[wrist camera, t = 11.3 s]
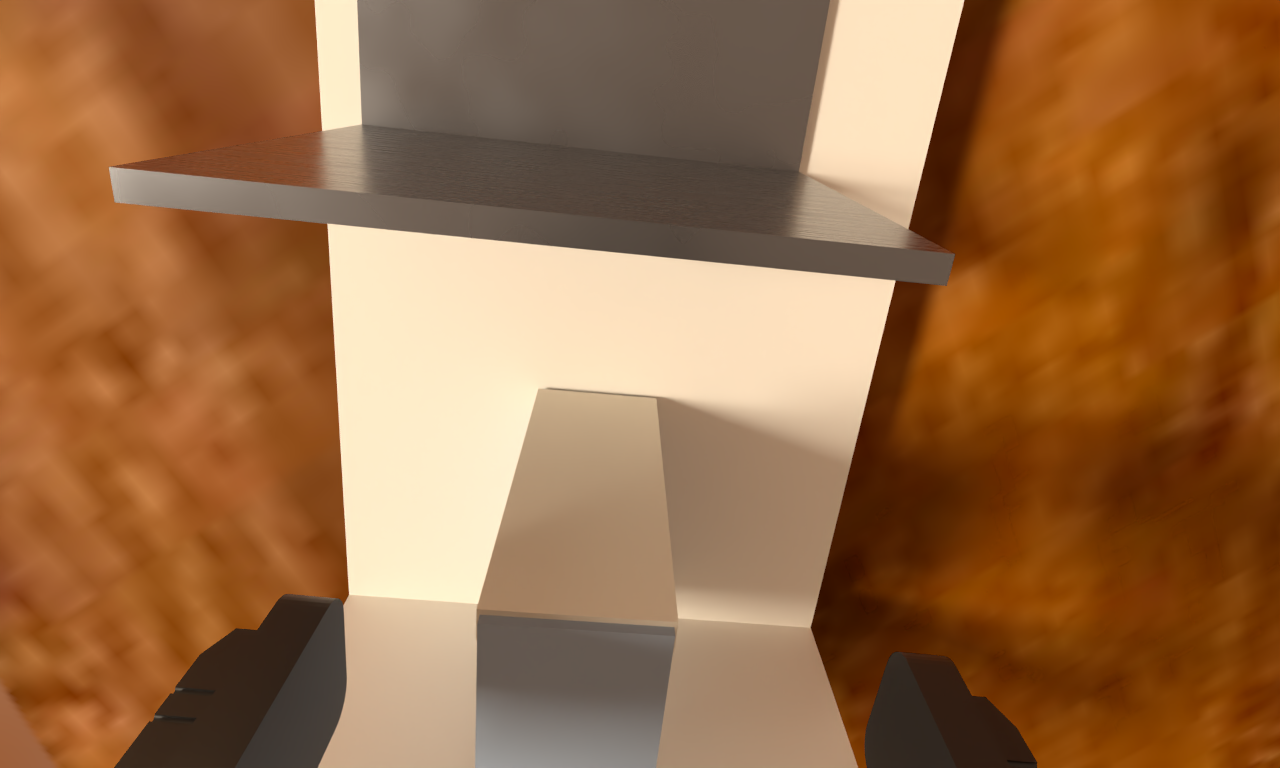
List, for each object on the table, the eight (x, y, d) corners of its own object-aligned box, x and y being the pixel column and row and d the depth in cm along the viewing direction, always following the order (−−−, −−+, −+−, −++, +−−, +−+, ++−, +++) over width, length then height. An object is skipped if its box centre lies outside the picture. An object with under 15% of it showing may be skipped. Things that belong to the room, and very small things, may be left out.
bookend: (840, -75, 15) (1095, -259, 7) (792, 187, 17) (945, 286, 9) (356, -138, 15) (12, -417, 6) (367, 141, 17) (115, 202, 9)
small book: (655, 395, 19) (679, 631, 11) (634, 582, 22) (640, 893, 13) (539, 385, 19) (473, 618, 11) (530, 575, 22) (470, 885, 13)
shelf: (941, -48, 17) (2775, -786, 3) (788, 621, 25) (1026, 1409, 10) (341, -124, 16) (-2059, -1854, 2) (372, 591, 24) (-26, 1400, 9)
